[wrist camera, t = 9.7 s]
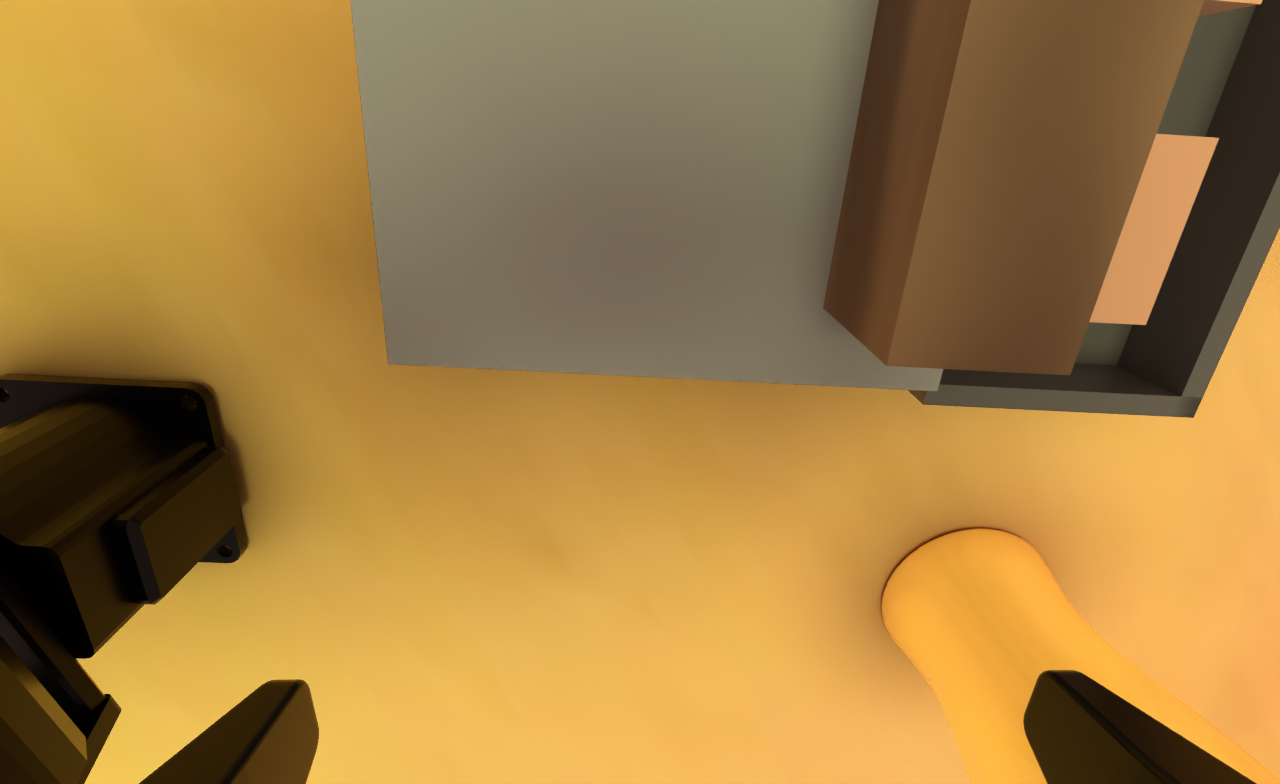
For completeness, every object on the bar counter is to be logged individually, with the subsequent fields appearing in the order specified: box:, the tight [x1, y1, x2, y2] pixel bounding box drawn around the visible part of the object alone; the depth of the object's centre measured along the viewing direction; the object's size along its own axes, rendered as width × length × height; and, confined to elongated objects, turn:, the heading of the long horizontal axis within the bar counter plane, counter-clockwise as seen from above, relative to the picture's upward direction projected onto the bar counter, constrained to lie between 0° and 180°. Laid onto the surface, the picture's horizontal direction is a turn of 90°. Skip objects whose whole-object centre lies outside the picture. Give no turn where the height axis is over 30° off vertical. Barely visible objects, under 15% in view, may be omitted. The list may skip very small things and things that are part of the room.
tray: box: [908, 0, 1280, 418], centre depth 15 cm, size 8×16×3 cm, turn 177°
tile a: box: [1089, 134, 1219, 325], centre depth 15 cm, size 4×4×2 cm
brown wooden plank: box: [823, 0, 1204, 375], centre depth 11 cm, size 4×11×4 cm, turn 176°
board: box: [350, 0, 943, 391], centre depth 14 cm, size 14×15×4 cm
